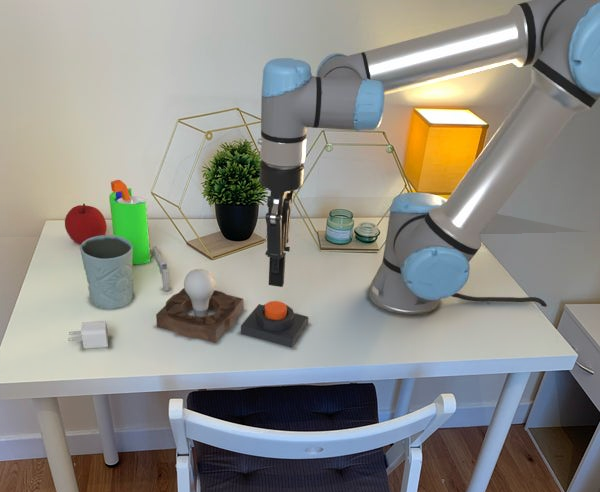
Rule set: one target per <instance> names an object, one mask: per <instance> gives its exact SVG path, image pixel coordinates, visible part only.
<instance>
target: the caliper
mask: <svg viewBox="0 0 600 492" xmlns="http://www.w3.org/2000/svg"><path fill="white" fill-rule="evenodd" d="M151 250H152V253H153V256H154V258H155V261H156V263H157V266H158V268H159V273H160V275H161V281H162V287H163V290H164V292H169V291H170V280H169V271H168V266H167V261H165V260H164V259H163V257H162V255H161V252H160V251H159V248H158V246H157V245H153V246H151Z"/></svg>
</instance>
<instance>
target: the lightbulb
mask: <svg viewBox="0 0 600 492" xmlns="http://www.w3.org/2000/svg"><path fill="white" fill-rule="evenodd" d="M183 280H184V281H183V288H184V289H185V291H186V293H187V294H188V296H189V297H190V299H191V301H192V305H193V309H194V310H193V313H194V316H199V317H204V316H208V303H209V299H210V297H211V296H212V294H213V292H214V290H216V281H215V278H214V276H213V275H212V273H210V272H209V271H208V270H206V269H204V268H195V269H192V270H190V271H189V272H188V273H187V274H186V275H185V277H184V279H183Z"/></svg>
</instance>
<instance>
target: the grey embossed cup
mask: <svg viewBox="0 0 600 492" xmlns="http://www.w3.org/2000/svg"><path fill="white" fill-rule="evenodd" d="M79 252H80V256H81V259H82V264H83V270H84V271H85V276H86V281H87V284H88V287H87V288H88V293H89V296H90V300H91V303H92V304H93V305H94V306H95V307H98V308H100V309H105V310H114V309H120V308H124V307H126V306H127V305H129V304H130V303H131V302H132V301H133V298H134V277H133V275H134V273H133V264H132V257H133V246H132V244H131V242H130V241H128V240H127V239H125V238H122V237H119V236H114V235H113V234H105V235H101V236H95V237H92V238H89V239H87V240H85V241H84V242H83V243H82V244H80V245H79Z"/></svg>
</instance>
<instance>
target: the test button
mask: <svg viewBox="0 0 600 492" xmlns="http://www.w3.org/2000/svg"><path fill="white" fill-rule="evenodd" d="M265 304H266V305H265ZM265 304H264V305H265V312H264V314H265V316H266V317H267V318H269V319H273V320H280V319H283V318H285V317H286V315H287V306H288V305H287V304H286V303H284V302H283V301H280V300H271V301H268V302H266V303H265ZM286 305H287V306H286Z"/></svg>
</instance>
